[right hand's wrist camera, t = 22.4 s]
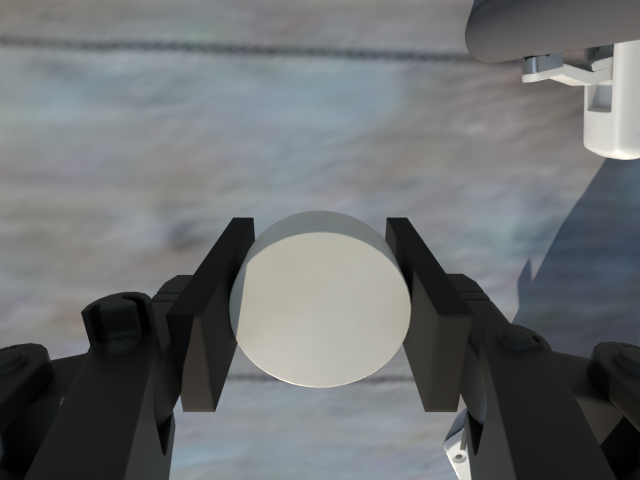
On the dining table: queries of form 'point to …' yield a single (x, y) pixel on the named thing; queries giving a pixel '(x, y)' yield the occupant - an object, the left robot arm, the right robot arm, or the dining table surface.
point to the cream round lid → (320, 300)
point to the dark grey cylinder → (548, 27)
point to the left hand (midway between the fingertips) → (524, 21)
